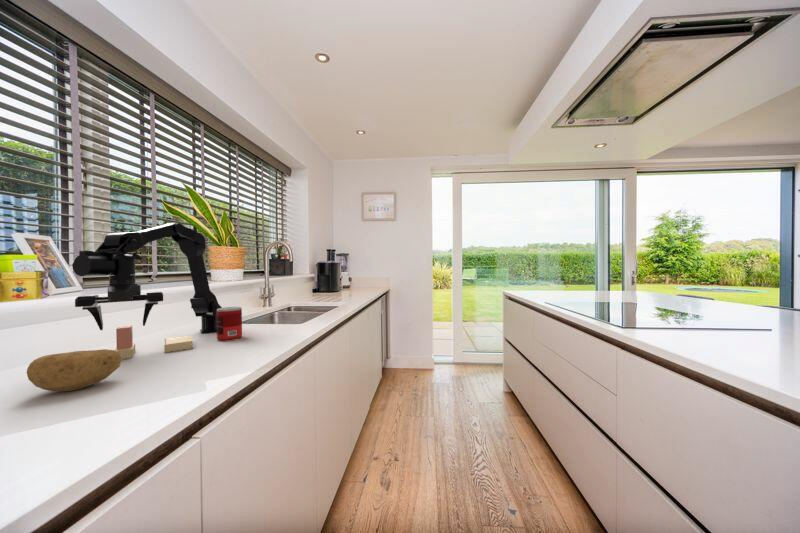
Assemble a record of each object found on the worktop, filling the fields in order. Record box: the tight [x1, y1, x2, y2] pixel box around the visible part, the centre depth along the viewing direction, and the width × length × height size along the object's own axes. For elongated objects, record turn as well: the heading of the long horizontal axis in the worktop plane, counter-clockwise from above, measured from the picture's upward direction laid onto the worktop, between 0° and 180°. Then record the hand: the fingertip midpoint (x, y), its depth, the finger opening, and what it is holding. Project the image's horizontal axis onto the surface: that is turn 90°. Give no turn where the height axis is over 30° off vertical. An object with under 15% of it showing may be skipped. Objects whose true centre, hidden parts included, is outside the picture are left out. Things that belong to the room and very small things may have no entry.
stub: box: [114, 325, 136, 360], centre depth 89 cm, size 10×4×8 cm, turn 38°
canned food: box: [216, 306, 243, 342], centre depth 107 cm, size 8×8×11 cm
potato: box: [26, 349, 123, 392], centre depth 64 cm, size 10×14×8 cm
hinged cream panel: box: [163, 335, 194, 353], centre depth 96 cm, size 10×7×3 cm
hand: (123, 327), depth 88 cm, fingers open, 9 cm apart
